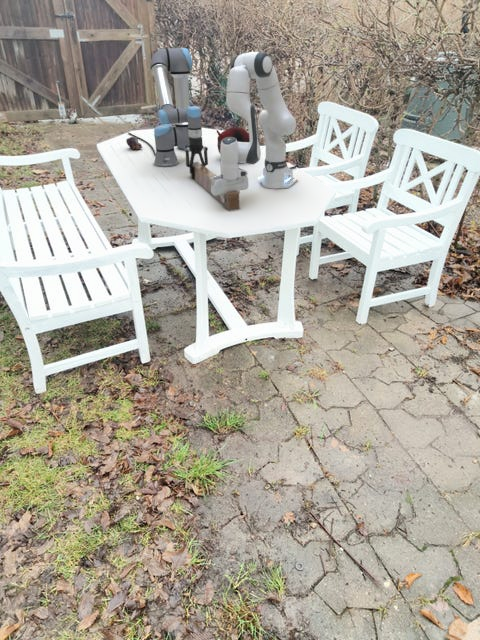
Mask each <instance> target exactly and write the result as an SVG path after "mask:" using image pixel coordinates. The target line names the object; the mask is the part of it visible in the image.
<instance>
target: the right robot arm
mask: <svg viewBox="0 0 480 640" xmlns="http://www.w3.org/2000/svg"><path fill="white" fill-rule="evenodd" d="M277 73H278V72H277V70H276V68H275V66H274V63H273V59H272V57H271V55H270V54H269V53H268V52H266V51H249V52H245V53H244V52H243V53H239V54H236V55H234V56H233V57H232V59H231V62H230V70H229V72H228V76H227V83H226V89H225V91H226V93H225V100H226V106H227V108H228V110H229V111H230V112H232V113H233V114H235V115H236V116H239V117H241V118H243V119H244V120H245V121H246V123H247V129H248V133H249V139H250V142H237V139H236V138H234V137H226V138H224V139H222V141H221V147H220V153H219V159H220V174H218V175H216V176H214V177H213V178H214V179H213V178H212V179H211V184H212V185H211V193H212V194H213V195H215V196H218V195H220V197H221V198H222V202H223V203H224V202H226V199H225V198H224V197H223V196H224V194H226V193H227V192H231V191H237V192H239V195H240V194H241V191H245V190H247V189H248V188H249V177H248V171H247V170H245V169H242V168H240V167H239V163H240V164H247V165H256V164H257V163H258V162H259V161H260V160H261V156H262V151H261V144H260V136H259V127H260V128H261V131H262V134H263V138H264V145H265V159H264V167H263V170H262V175H261V176H258V177H257V180H260V179H261V180H260V183H261V185H262V187H264V188H266V189H274V190H275V189H276V190H277V189H289V188H290V187H291V186H293V185H294V184H295V183H296V182H297V181H298V180H297V178H295V177H294V171H293V170H292V169H295V168H297V167H299V163H298V161H296V162H295V164H296V165H294V166H290V167H289V166H288V163H290V158H286V155H287V143H286V142H285V140H284V137H283V136H290V135H292V134H294V132H295V130H296V128H297V120H296V118H295V117H294V115H293V114H292V113H291V112H290V110H289V108H288V106H287V104H286V102H285V100H284V97H283V95H282V90H281V86H280V85H281V84H280V81H279V77H278V74H277ZM253 79H255V84H256V88H257V92H258V97H259V99H260V103H261V106H262V107H263V108H264V109H263V110H262V111H260V113H259V115H258V117H257V111H256V108H255V106H254V105H252V102H251V98H250V95H251V94H250V91H251V85H250V83H251V80H253ZM258 125H259V126H258Z"/></svg>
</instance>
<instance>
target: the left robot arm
mask: <svg viewBox="0 0 480 640" xmlns="http://www.w3.org/2000/svg"><path fill="white" fill-rule="evenodd" d="M149 67H150V73H151V75H152V76H153V78H154V79H153V80H154V84H155V88H156V94H157V98H158V103H159V104H158V105H159V108H160V109H158V111H157V116H158V122H159V124H160V125H158V126H157V125H156V127H155V128H154V129H153V136H154V142H155V143H154V145H155V149H154V147H153V145H151V144H150V143H149V142H148V141H147V140H145V139H143V138H141V137H139V136H136V135H135V134H133V133H130V132H127V134H128V135H131V137H137V139H139V140H141V141H142V142H144V143H146V144H147V145H148V146H149V147H150V148H151V150H152V152H153V155H154V165H155V166H157V167H163V168H164V167H165V168H167V167H168V168H169V167H174V166H177V165H178V164H179V159H178V157H177V153H176V151H175V147H177V146H185V145H188V146H189V148H187V149H185V150H184V153H185V166H186V167H187V168H189V174H190V176H191V175H192V177H191V179H192V180H194V168H193V167H192V166H193V162H195V161H194V159H195V157H196V155H198V157H199V160H200V163H201V164H202V165H203V166H205V167H207V166H208V165H209V157H208V149H209V148H208V147H207V146H204V145H203V137H202V136H203V130H202V128H203V127H202V111H201V107H200V106H195V105H193V106H191V105H190V90H189V76H190V75H191V71H192V70H193V60H192V55H191V53H190V50H189V49H188V48H187V47H171V48H170V47H169V48H160V49H158V50H157V51H155V52H154V54H153V55H152V58H151V60H150V66H149ZM169 72H170V76H171V77H172V78H173V86H174V98H175V107H174V102H173V98H172V93H171V88H170V84H169V78H168V73H169ZM172 124H174V125H175V126H173V125H172ZM202 151H203V152H202Z"/></svg>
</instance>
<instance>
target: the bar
mask: <svg viewBox="0 0 480 640" xmlns="http://www.w3.org/2000/svg"><path fill="white" fill-rule="evenodd" d="M192 167H193V168H194V179H193V180H194V181H195V182H196V183H197V184H199V186H201V187H202V188H203V189H204V190H205V191H207V192H208V194H210V195H211V196H212V197H213V198H214V199H216V200H217V201H218V202H219V203H220V204H221V205H222V206H224V207H225V209H227V210H228V211H234V210H240V194H239V192H237V191H231V192H227V193H226V194H224V196H223V197H224V198H225V199H226V202H224V203H223V202H222V198H221V197H220V195H218V196H215V195H213V194H212V193H211V185H212V184H211V179H212V178H213V177H214V176H217V175H216V174H215V173H214V172H213V171H211V170H210V169H209V168H208V167H207V166H203V165H202V163H201V162H199V161H193V166H192ZM190 178H192V175H191V174H190ZM213 179H214V178H213Z"/></svg>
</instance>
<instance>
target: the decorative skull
mask: <svg viewBox="0 0 480 640" xmlns="http://www.w3.org/2000/svg"><path fill="white" fill-rule="evenodd" d="M216 133H217V150H218V153H219V154H220V147H221V141H222V139H224V138H226V137H234V138H236V139H237V142H250V139H249V131H247V130H246V129H244V128H242V127H239V126H232V127H229V128H227V129H225V130H223V131H222V132H220V131H219V130H218V129H216Z"/></svg>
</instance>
